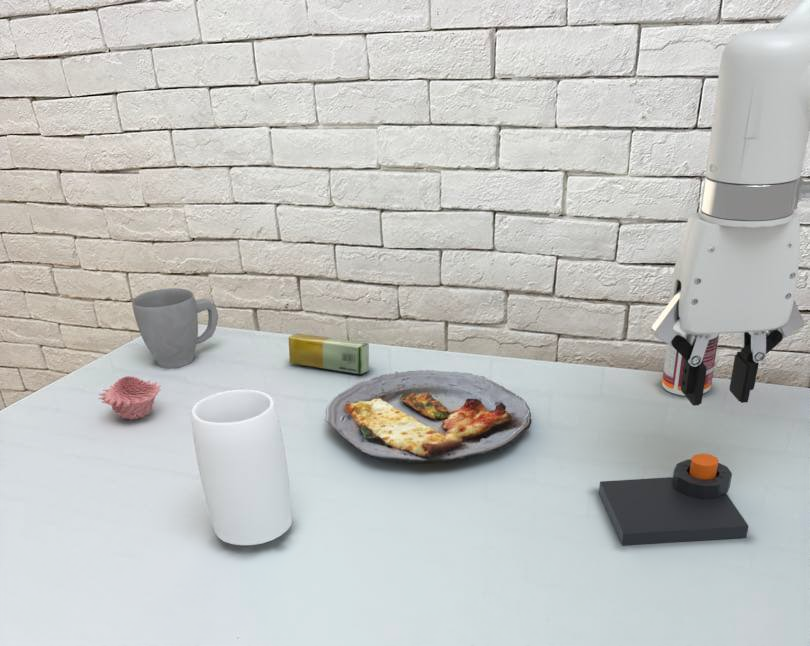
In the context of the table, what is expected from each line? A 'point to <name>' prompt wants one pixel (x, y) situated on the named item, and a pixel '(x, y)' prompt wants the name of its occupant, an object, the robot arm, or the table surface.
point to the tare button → (703, 466)
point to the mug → (172, 324)
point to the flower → (131, 397)
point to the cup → (242, 466)
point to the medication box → (329, 353)
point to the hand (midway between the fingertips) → (715, 396)
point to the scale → (673, 508)
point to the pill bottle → (676, 363)
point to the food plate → (428, 416)
